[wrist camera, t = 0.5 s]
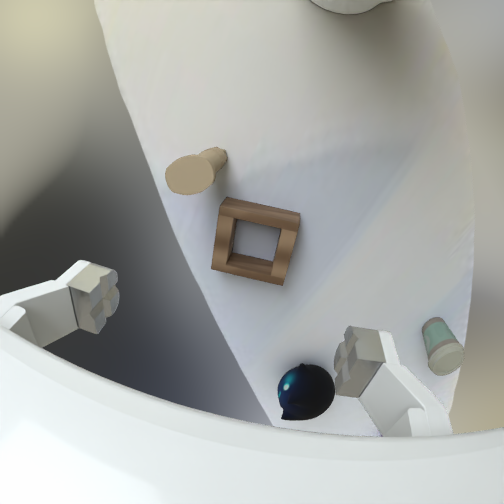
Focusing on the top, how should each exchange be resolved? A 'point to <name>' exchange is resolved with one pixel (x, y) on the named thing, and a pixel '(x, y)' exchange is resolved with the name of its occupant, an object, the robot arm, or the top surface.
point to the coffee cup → (442, 347)
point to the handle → (195, 171)
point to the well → (247, 264)
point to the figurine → (305, 392)
